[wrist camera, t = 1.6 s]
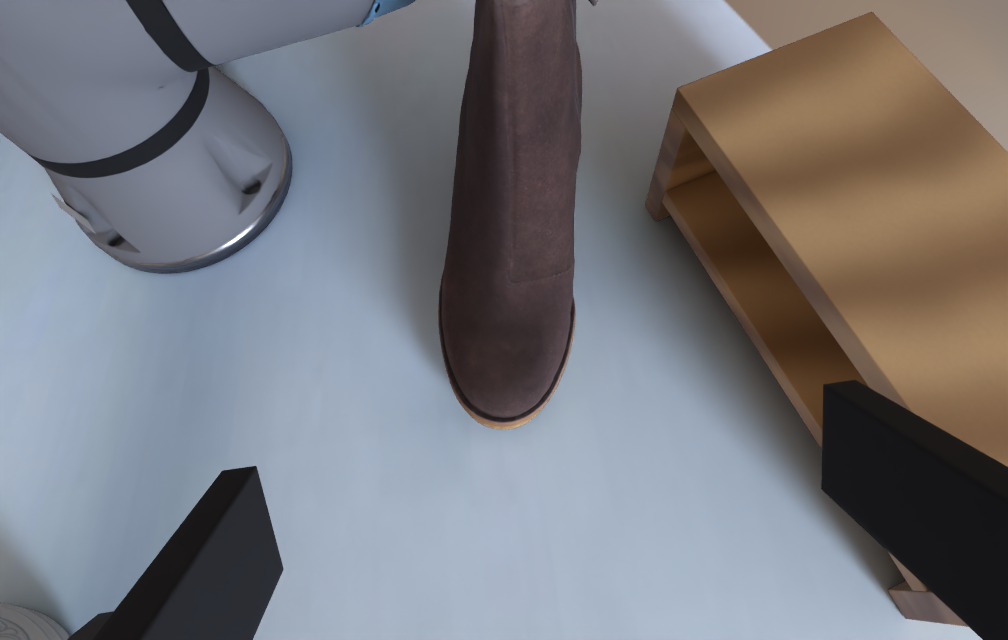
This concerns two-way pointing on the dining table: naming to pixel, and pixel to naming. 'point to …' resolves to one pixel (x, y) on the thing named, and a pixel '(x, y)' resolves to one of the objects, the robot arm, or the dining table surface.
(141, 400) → the dining table surface
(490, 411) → the boot
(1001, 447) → the shoe rack
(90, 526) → the dining table surface
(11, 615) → the jar
